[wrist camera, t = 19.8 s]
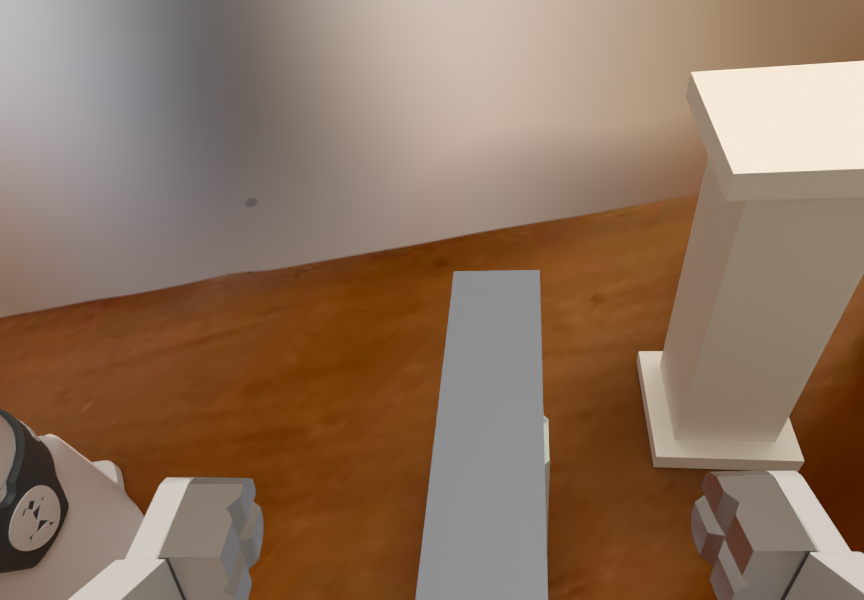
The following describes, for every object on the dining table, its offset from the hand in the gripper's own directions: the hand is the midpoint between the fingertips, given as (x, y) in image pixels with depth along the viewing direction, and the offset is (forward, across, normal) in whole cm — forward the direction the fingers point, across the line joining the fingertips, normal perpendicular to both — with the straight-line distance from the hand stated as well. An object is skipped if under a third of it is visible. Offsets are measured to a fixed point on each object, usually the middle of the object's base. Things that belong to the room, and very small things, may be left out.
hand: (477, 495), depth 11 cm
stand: (+28, -21, +25) cm, 43 cm away
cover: (+14, -2, +13) cm, 19 cm away
